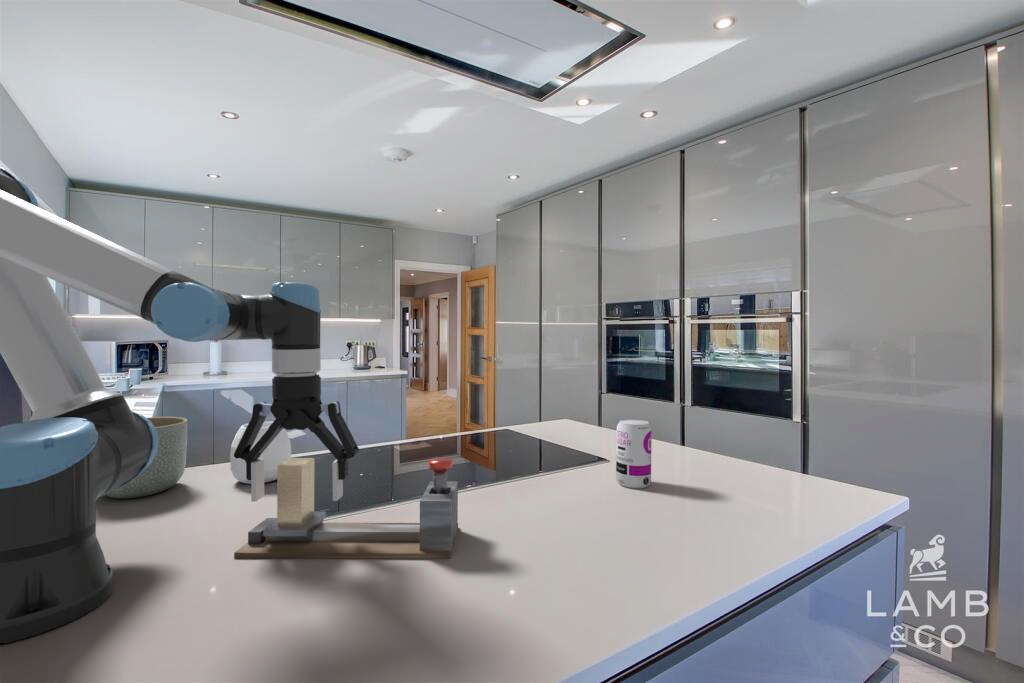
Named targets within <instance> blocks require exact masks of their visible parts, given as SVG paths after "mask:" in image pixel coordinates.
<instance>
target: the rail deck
mask: <svg viewBox="0 0 1024 683" xmlns="http://www.w3.org/2000/svg"><path fill="white" fill-rule="evenodd" d="M458 487H459V482H458V481H447V494H433V480H432V481H429V483H428V484H427V487H426V489H425V490H424V493H423V495H422V496H421V498H420V500H419V522H323V524H319V525H317V526H316V527H315V528H314V529H313V530H312V540H311V541H310V542H276V541H268V536H263V530H264V529H265V528H266V527H268V526H269V525H270V524H271V523H273V522H274V521H275V520H277V517H267V518H265V519H263V520H262V521H261V522H259V523H258V524H257V525H256V526H254V527H253V528H252V529H250V530H249V531H247V542H246V543H244V544H243V545H242V546H241V547H240V548H238V549H237V550H235V552H234V553H233V556H234V557H233V558H234V559H235V558H236V559H418V560H419V559H423V560H424V559H433V560H434V559H438V560H439V559H442V560H443V559H444V560H445V559H451V557H452V556H451V555H452V552H453V548H454V545H455V542H456V537H457V532H458V529H459V523H458V518H459V516H458V513H459V512H458V509H459V507H458V506H459V504H458V503H459V500H458V498H459V488H458Z"/></svg>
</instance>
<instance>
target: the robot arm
mask: <svg viewBox="0 0 1024 683" xmlns="http://www.w3.org/2000/svg"><path fill="white" fill-rule="evenodd" d="M48 278H49V279H51V280H53V281H55V282H57V283H60V284H62V285H65V286H67V287H70V288H72V289H74V290H76V291H78V292H81V293H84V294H86V295H88V296H90V297H92V298H95V299H97V300H99V301H102V302H104V303H106V304H108V305H111V306H114V307H116V308H118V309H121V310H123V311H125V312H128V313H129V314H132V315H135V316H136V317H139V318H141V319H143V320H145V321H147V322H149V323H151V324H154V325H156V327H157V328H158V329H159V330H160V331H161V332H162V333H164V335H166V336H169V337H170V338H174V339H178V340H181V341H185V342H191V343H192V342H193V343H194V342H197V343H198V342H204V341H208V342H209V341H215V342H218V341H238V340H240V341H241V340H271V372H272V373H273V374H275V376H273V378H272V379H271V380H272V381H271V386H272V390H271V391H272V392H271V393H272V394H271V395H272V399H273V401H272V403H268V402H266V401H262V402H258V403H255V404H253V405H252V413H251V419H250V420H249V422H248V423H249V424H248V423H247V424H248V426H247V428H246V430H245V432H244V434H243V436H242V438H241V440H240V442H239V444H238V446H237V449H236V451H235V453H234V457H235V458H241V459H243V460H245V461H246V471H247V472H246V478H247V480H251V484H250V485H251V486H250V488H251V489H250V491H251V493H250V494H251V496H250V498H251V502H257V501H259V500H260V499H262V498H264V497H265V482H264V459H258V458H259V457H260V455H261V454H262V453H263V451H264V450H265V449H266V448H267V447H268V445H269V444H270V443H271V442H272V441H273V440H274V438H275V437H276V436H277V435H278V434H279V432H280V431H281V430H282V429H283V428H284V429H285V430H286V431H291V430H294V429H295V430H298V431H300V430H301V431H304V430H306V429H308V430H309V431H310V432H311V433H313V434H314V435H315V436H316V437H317V438H318V439H319V440H320V442H321V443H322V444H323V445H324V446H325V447H326V449H327V450H328V451H329V452H330V454H332V455H333V457H334V458H335V460H334V461H332V464H331V465H332V466H331V467H332V501H333V502H338V501H339V500H340V499H341V498H342V497H343V496H344V484H343V483H344V480H346V479H348V476H349V459H351V458H352V459H353V458H354V457H355V456H357V455H358V454H360V449H359V446H358V445H357V442H356V441H355V438H354V437H353V435H352V432H351V431H350V429H349V427H348V425H347V422H346V421H345V419H344V417H343V415H342V412H341V411H342V410H341V404H340V402H339V401H333V402H330V403H323V402H322V400H321V396H322V383H321V382H322V381H321V379H322V377H321V376H320V375H319V374H318V373H319V372H320V371H321V314H322V311H321V303H320V302H321V301H320V291H319V288H317V287H316V285H313V284H311V283H305V282H295V281H293V282H292V281H288V282H287V281H285V282H274V283H273V284H272V285H271V287H270V288H271V289H270V292H269V294H268V293H267V294H243V293H241V294H240V293H239V294H238V293H237V294H236V293H230V292H227V291H224V290H223V291H222V290H219V289H215V288H213V287H210V286H208V285H207V284H206V285H205V284H204V283H201V282H199V281H197V280H196V279H193V278H191V277H188V276H186V275H184V274H181V273H179V272H177V271H175V270H173V269H171V268H169V267H167V266H164V265H162V264H160V263H158V262H156V261H154V260H151V259H149V258H147V257H145V256H144V255H141V254H138V253H137V252H134V251H132V250H130V249H128V248H126V247H124V246H121V245H120V244H118V243H116V242H113V241H111V240H109V239H106V238H105V237H102V236H100V235H98V234H96V233H94V232H91V231H89V230H88V229H85V228H83V227H81V226H79V225H77V224H74V223H72V222H70V221H68V220H66V219H64V218H61V217H59V216H58V215H55V214H54V213H52V212H49V211H47V210H44V209H43V208H40V207H39V203H38V200H37V198H36V196H35V194H34V193H33V191H32V189H30V188H29V186H28V185H26V183H25V182H24V181H22V180H21V179H20V178H19V177H17V176H16V175H14V174H13V173H10V172H9V171H7V170H6V169H4V168H3V167H1V166H0V355H1V357H2V358H3V361H4V362H5V364H6V367H7V368H8V369H9V372H10V373H11V375H12V377H13V379H14V381H15V382H16V385H17V386H18V388H19V390H20V392H21V394H22V395H23V397H24V398H25V401H26V402H27V404H28V406H29V408H30V410H31V412H32V414H31V417H30V418H29V420H28V421H26V420H25V422H20V423H12V424H7V425H3V426H0V643H4V644H8V643H12V642H15V641H19V640H23V639H24V640H25V639H27V638H30V637H33V636H36V635H39V634H42V633H44V632H45V633H46V632H48V631H51V630H53V629H56V628H58V627H62V626H63V625H65V624H68V623H70V622H72V621H74V620H76V619H78V618H80V617H83V616H84V615H86V614H88V613H89V612H91V611H93V610H94V609H96V608H97V607H98V606H100V605H101V604H103V603H104V602H105V601H106V600H107V599H108V598H109V597H110V595H111V594H112V592H113V590H114V573H113V569H112V567H111V566H110V564H108V563H107V561H106V557H105V554H104V552H103V548H102V547H101V544H100V542H99V540H98V538H97V516H96V515H97V500H98V499H99V498H102V497H103V496H106V495H105V494H107V493H109V492H111V491H112V490H114V489H116V488H119V487H121V486H123V485H125V484H128V483H129V482H131V481H132V480H134V479H135V478H136V477H137V476H138V475H139V474H141V473H142V472H143V471H144V470H145V469H146V468H147V467H148V466H149V465H150V464H151V462H152V461H153V459H154V457H155V455H156V453H157V449H158V434H157V431H156V429H155V427H154V425H153V424H152V423H151V422H150V421H149V420H148V419H147V418H148V417H146V416H144V415H143V414H140V413H137V412H136V411H133V410H131V409H130V406H129V404H128V402H127V401H126V398H125V397H124V394H122V392H118V391H114V390H109V388H106V386H105V384H104V382H103V381H102V379H101V377H100V375H99V373H98V371H97V370H96V368H95V366H94V364H93V361H92V360H91V358H90V357H89V354H88V352H87V350H86V349H85V346H84V345H83V343H82V342H81V339H80V338H79V336H78V334H77V332H76V330H75V328H74V326H73V324H72V322H71V320H70V319H69V317H68V314H67V313H66V311H65V309H64V307H63V305H62V303H61V301H60V300H59V298H58V296H57V294H56V292H55V290H54V288H53V287H52V284H51V283H50V281H49V279H48ZM323 412H324V414H325V415H326V417H328V419H329V421H330V423H331V426H332V427H333V429H334V431H335V434H336V435H337V437H338V438H336V436H335V435H334V434H333V432H331V430H330V429H329V428H328V427H327V425H326V424H325V422H324V420H323V419H322V418H321V417H320V415H321V414H322V413H323ZM270 413H271V414H272V415H273V417H274V418H275V420H273V421H272V422H273V423H272V424H271V425H270V426H269V429H268V430H267V431H266V432H265V434H264V435H263V436H262V437H261V438H260V440H259V441H258V442H257V443H256V444H255V446H254V447H253V448H252V449H251V447H252V445H253V443H254V441H255V439H256V437H257V435H258V433H259V431H260V429H261V427H262V425H263V423H264V422H266V421H265V420H266V418H267V416H269V415H270ZM250 449H251V450H250ZM7 642H8V643H7Z"/></svg>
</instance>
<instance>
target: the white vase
mask: <svg viewBox="0 0 1024 683" xmlns="http://www.w3.org/2000/svg"><path fill="white" fill-rule="evenodd" d="M273 422H274V421H272V420H271V421H264V423H263V425H262V427H261V429H260V431H259V433H258V435H257V437H256V439H255V441H254V443H253V445H252V447H251V449H252V448H253V447H254V446H255V444H256V443H257V442H258V441H259V440H260V438H261V437H262V436H263V435H264V434H265V432H266V431H267V430H268V429H269V426H270V425H271V424H272V423H273ZM248 424H249V422H248V423H244V424H242V425H241V426H240V427H239V429H238V430H237V432H236V434H235V435H234V438H233V441H232V442H231V447H230V456H229V457H230V458H229V459H230V460H229V462H230V471H231V474H232V476H233V477H234V479H236V481H237V480H238V482H240V483H242V484H249V485H251V480H247V478H246V472H247V471H246V461H245V460H243V459H241V458H235V457H234V453H235V451H236V449H237V446H238V444H239V442H240V440H241V438H242V436H243V434H244V432H245V430H246V428H247V426H248ZM251 449H250V450H251ZM291 458H292V447H291V439H290V437H289V435H288V432H287V430H285V428H283V429H282V430H281V431H280V432H279V434H278V435H277V436H276V437H275V438H274V440H273V441H272V442H271V443H270V444H269V445H268V447H267V448H266V449H265V450H264V451H263V453H262V454H261V455H260V457H259V458H258V459H264V483H269V482H272V481H276V480H277V466H278V465H280V464H282V463H283V462H285V461H287V460H289V459H291Z"/></svg>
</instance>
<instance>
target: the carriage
mask: <svg viewBox="0 0 1024 683" xmlns="http://www.w3.org/2000/svg"><path fill="white" fill-rule="evenodd" d="M276 480H277V486H276V487H277V490H276V491H277V492H276V494H277V495H276V496H277V500H276V502H277V503H276V507H277V508H276V512H277V514H276V516H277V517H276V518H277V520H275V521H274V522H273V523H271V524H270V525H269V526H268V527H266V528H265V529H264V530H263V536H268V541H276V542H310V541H311V540H312V530H313V529H314V528H315V527H316V526H317V525H319V524H323V523H324V520H325V519H326V518H327V511H319V510H317V511H315V457H291V459H289V460H287V461H285V462H283V463H282V464H280V465H278V466H277V479H276Z"/></svg>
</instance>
